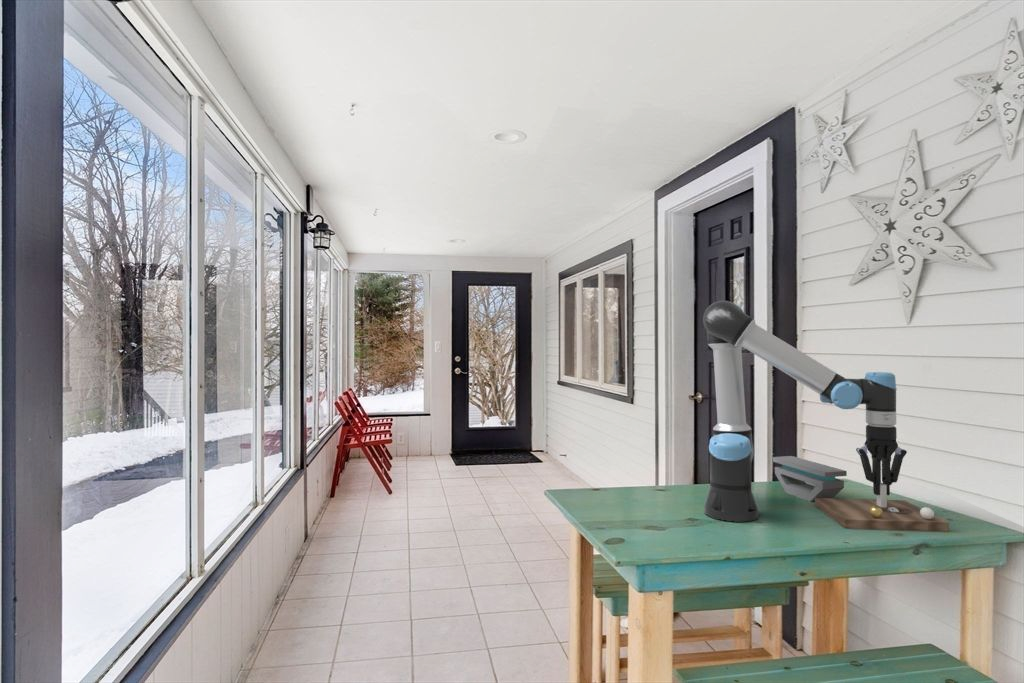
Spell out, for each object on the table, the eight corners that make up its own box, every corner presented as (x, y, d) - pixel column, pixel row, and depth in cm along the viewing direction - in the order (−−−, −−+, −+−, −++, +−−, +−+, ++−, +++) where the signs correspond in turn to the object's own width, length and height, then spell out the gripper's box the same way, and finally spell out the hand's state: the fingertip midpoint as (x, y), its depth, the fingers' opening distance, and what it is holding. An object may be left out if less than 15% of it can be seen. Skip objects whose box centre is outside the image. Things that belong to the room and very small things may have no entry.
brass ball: (872, 519, 158) (872, 507, 158) (867, 515, 161) (866, 504, 161) (885, 519, 158) (884, 507, 158) (879, 516, 161) (879, 504, 161)
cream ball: (923, 520, 156) (923, 509, 156) (917, 517, 159) (917, 505, 159) (936, 521, 156) (936, 509, 156) (930, 517, 159) (929, 506, 159)
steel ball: (893, 506, 165) (904, 513, 165) (888, 503, 168) (898, 509, 168) (887, 516, 165) (897, 522, 165) (882, 512, 168) (892, 519, 168)
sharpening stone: (847, 505, 180) (846, 471, 180) (825, 507, 179) (825, 472, 179) (792, 486, 205) (791, 455, 205) (772, 487, 203) (772, 457, 203)
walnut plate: (845, 528, 158) (845, 519, 158) (815, 505, 180) (814, 498, 180) (948, 531, 155) (948, 522, 155) (905, 508, 176) (904, 500, 176)
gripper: (862, 426, 164) (863, 509, 164) (912, 427, 163) (913, 510, 163) (851, 423, 172) (851, 501, 172) (898, 423, 170) (899, 503, 170)
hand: (881, 506), depth 167 cm, fingers closed
